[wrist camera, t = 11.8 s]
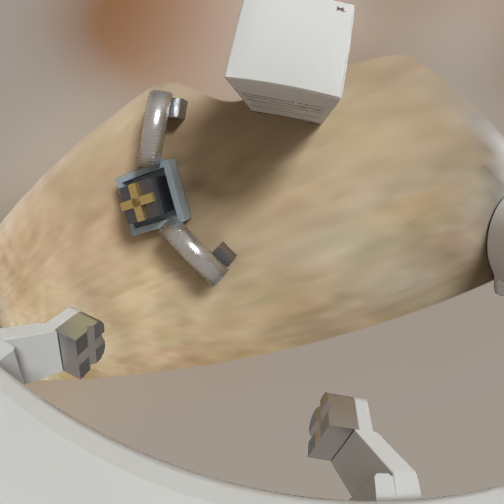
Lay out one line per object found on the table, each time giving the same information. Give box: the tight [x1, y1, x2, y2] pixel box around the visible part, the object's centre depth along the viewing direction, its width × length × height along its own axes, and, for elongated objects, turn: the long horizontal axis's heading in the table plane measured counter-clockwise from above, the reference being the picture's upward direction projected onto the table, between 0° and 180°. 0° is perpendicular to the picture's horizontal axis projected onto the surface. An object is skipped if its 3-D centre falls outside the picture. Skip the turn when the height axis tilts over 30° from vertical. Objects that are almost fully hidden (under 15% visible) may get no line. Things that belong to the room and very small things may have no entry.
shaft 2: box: [158, 215, 237, 286], centre depth 37 cm, size 9×4×5 cm, turn 45°
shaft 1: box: [137, 90, 188, 168], centre depth 33 cm, size 9×4×5 cm, turn 170°
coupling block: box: [119, 175, 175, 225], centre depth 35 cm, size 4×4×5 cm
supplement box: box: [225, 0, 355, 124], centre depth 25 cm, size 9×9×15 cm
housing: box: [116, 159, 191, 236], centre depth 37 cm, size 8×8×2 cm
